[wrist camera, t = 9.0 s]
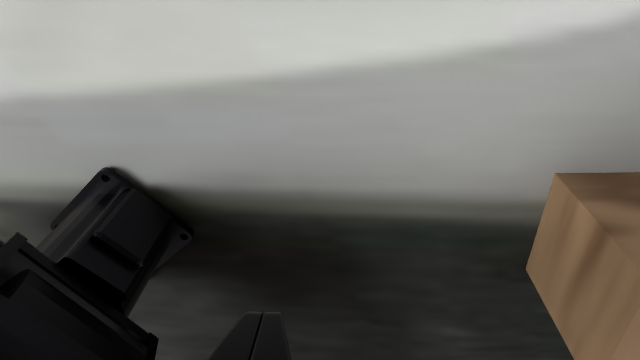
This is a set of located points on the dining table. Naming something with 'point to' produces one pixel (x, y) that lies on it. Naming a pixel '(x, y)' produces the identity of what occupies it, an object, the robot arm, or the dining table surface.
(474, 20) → the dining table surface
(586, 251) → the walnut block
